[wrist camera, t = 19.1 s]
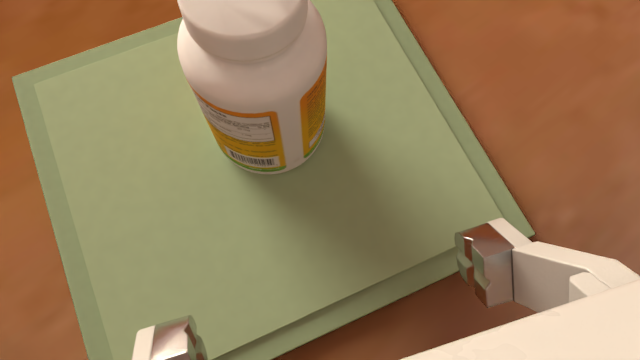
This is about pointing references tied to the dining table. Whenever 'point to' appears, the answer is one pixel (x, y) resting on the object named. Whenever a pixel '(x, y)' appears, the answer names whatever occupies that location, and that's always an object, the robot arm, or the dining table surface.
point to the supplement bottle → (257, 77)
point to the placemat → (253, 192)
